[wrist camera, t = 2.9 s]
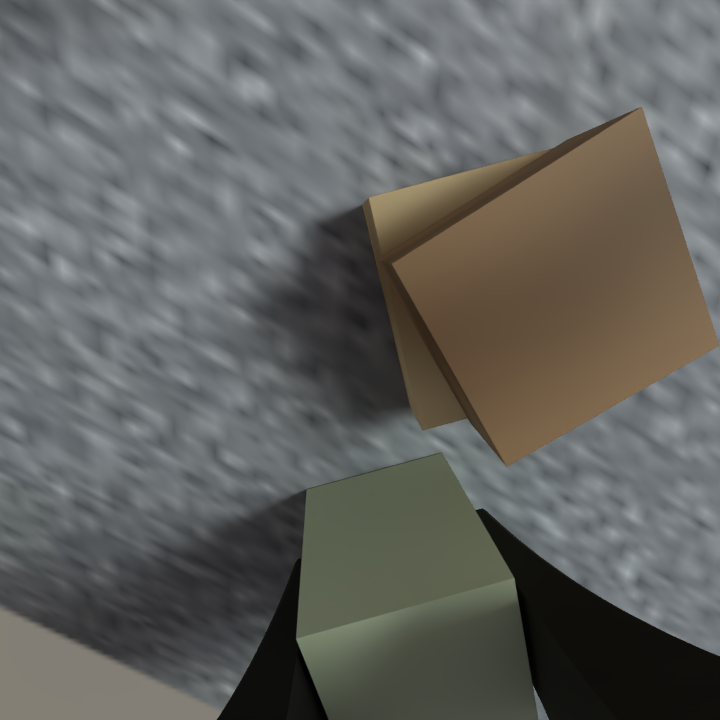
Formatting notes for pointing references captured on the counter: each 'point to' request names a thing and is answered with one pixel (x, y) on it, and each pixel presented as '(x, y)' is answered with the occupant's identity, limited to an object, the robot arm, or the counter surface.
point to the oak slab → (388, 231)
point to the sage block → (409, 602)
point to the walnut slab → (557, 289)
